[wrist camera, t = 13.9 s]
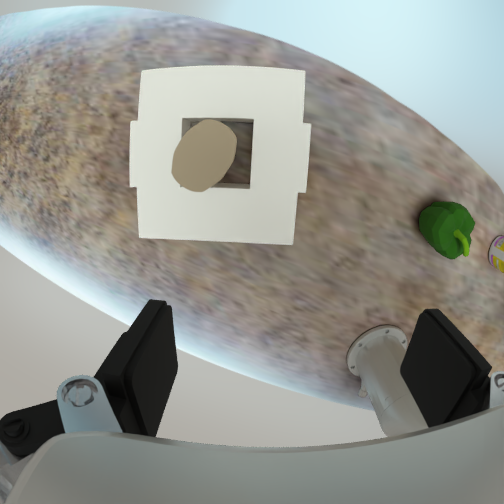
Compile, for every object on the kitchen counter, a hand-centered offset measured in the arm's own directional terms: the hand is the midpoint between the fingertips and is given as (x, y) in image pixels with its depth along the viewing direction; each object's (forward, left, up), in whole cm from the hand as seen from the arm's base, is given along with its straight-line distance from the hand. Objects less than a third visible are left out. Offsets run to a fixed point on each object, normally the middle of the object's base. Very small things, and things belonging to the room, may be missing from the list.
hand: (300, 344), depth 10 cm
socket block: (+6, +6, -31) cm, 32 cm away
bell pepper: (-1, -28, -32) cm, 42 cm away
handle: (+6, +6, -32) cm, 33 cm away
